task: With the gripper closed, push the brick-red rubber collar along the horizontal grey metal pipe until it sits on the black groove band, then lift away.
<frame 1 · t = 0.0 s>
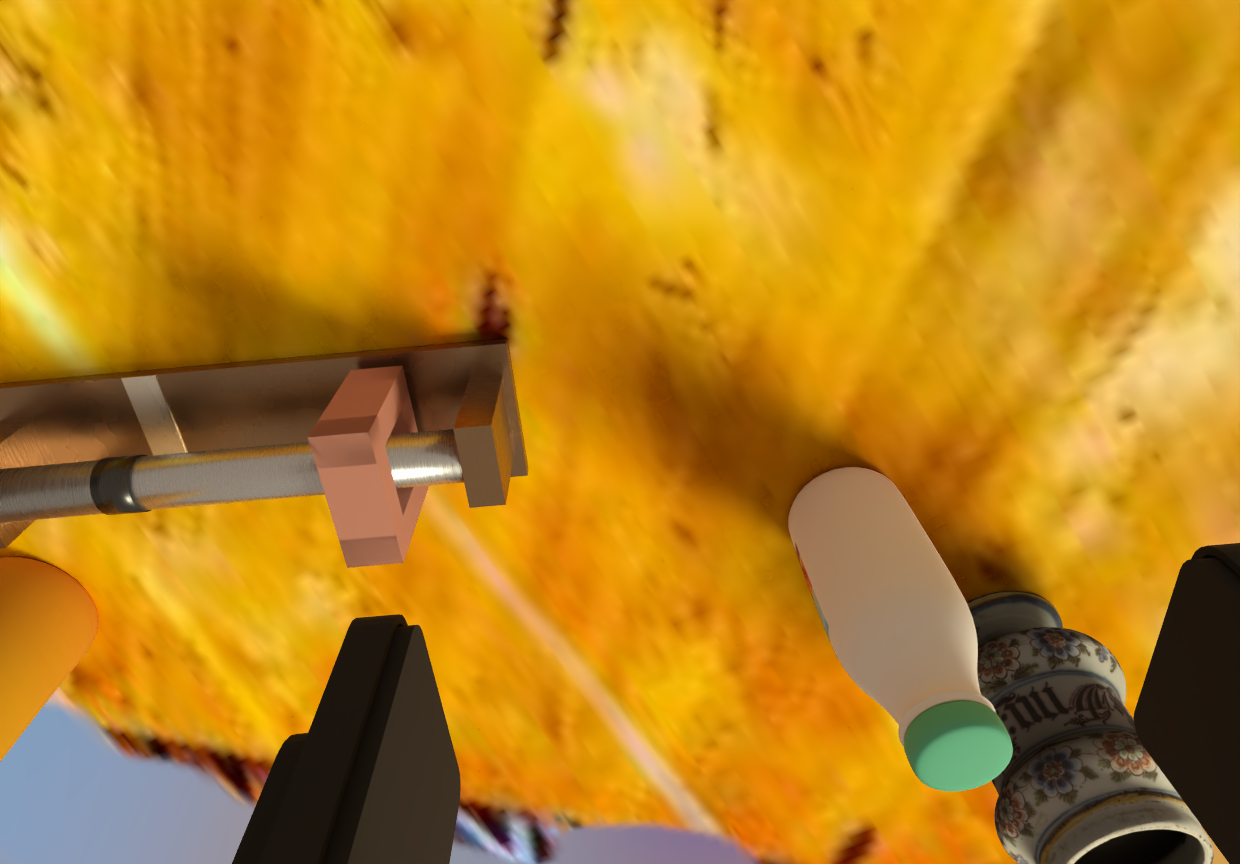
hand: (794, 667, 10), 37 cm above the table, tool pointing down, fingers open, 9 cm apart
milk bottle: (842, 510, 54), on the table
apothecary jar: (993, 639, 60), on the table
collar: (376, 462, 44), point 6 cm above the table, slide at 0.0 cm
beer bottle: (34, 603, 56), on the table
pipe rig: (268, 428, 49), on the table
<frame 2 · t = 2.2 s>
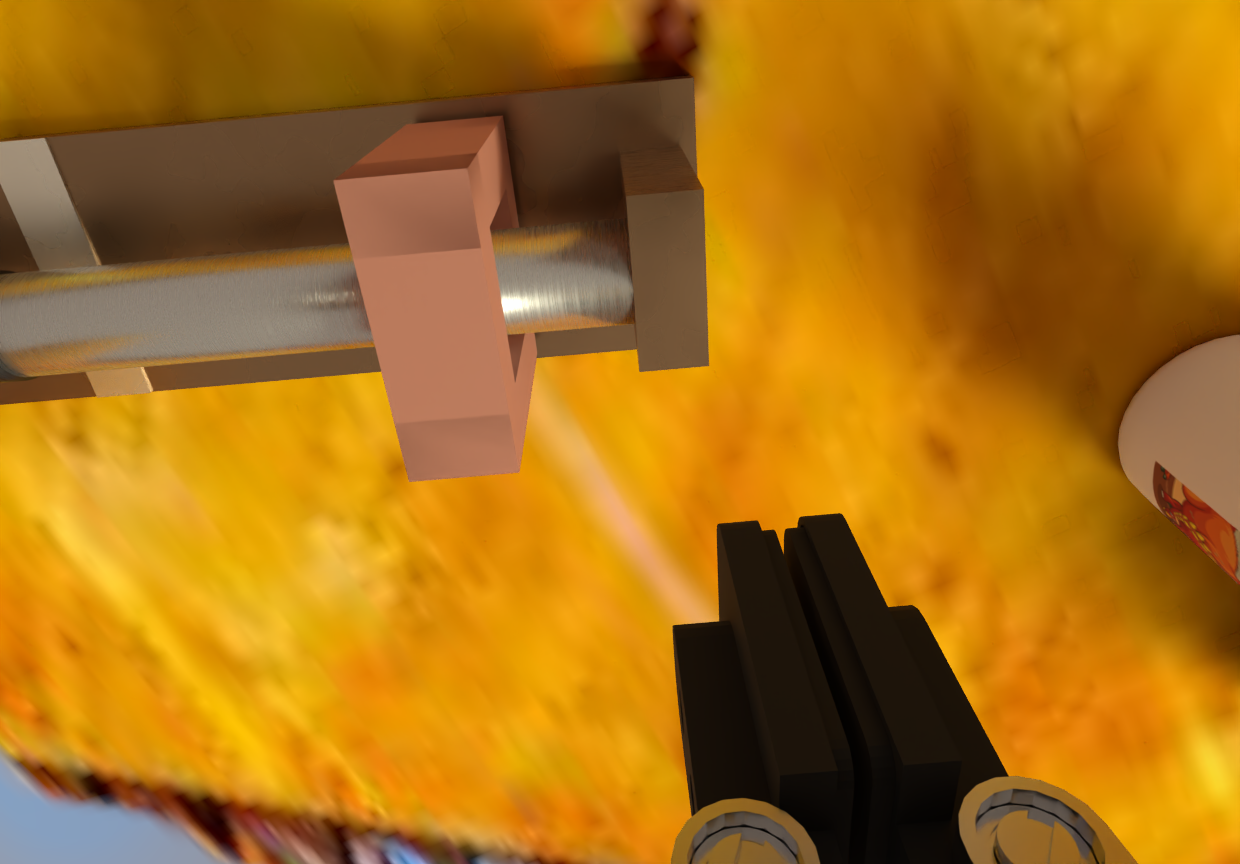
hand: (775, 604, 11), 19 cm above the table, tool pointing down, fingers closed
milk bottle: (1204, 413, 33), on the table
collar: (459, 286, 23), point 5 cm above the table, slide at 0.0 cm
pipe rig: (255, 254, 28), on the table
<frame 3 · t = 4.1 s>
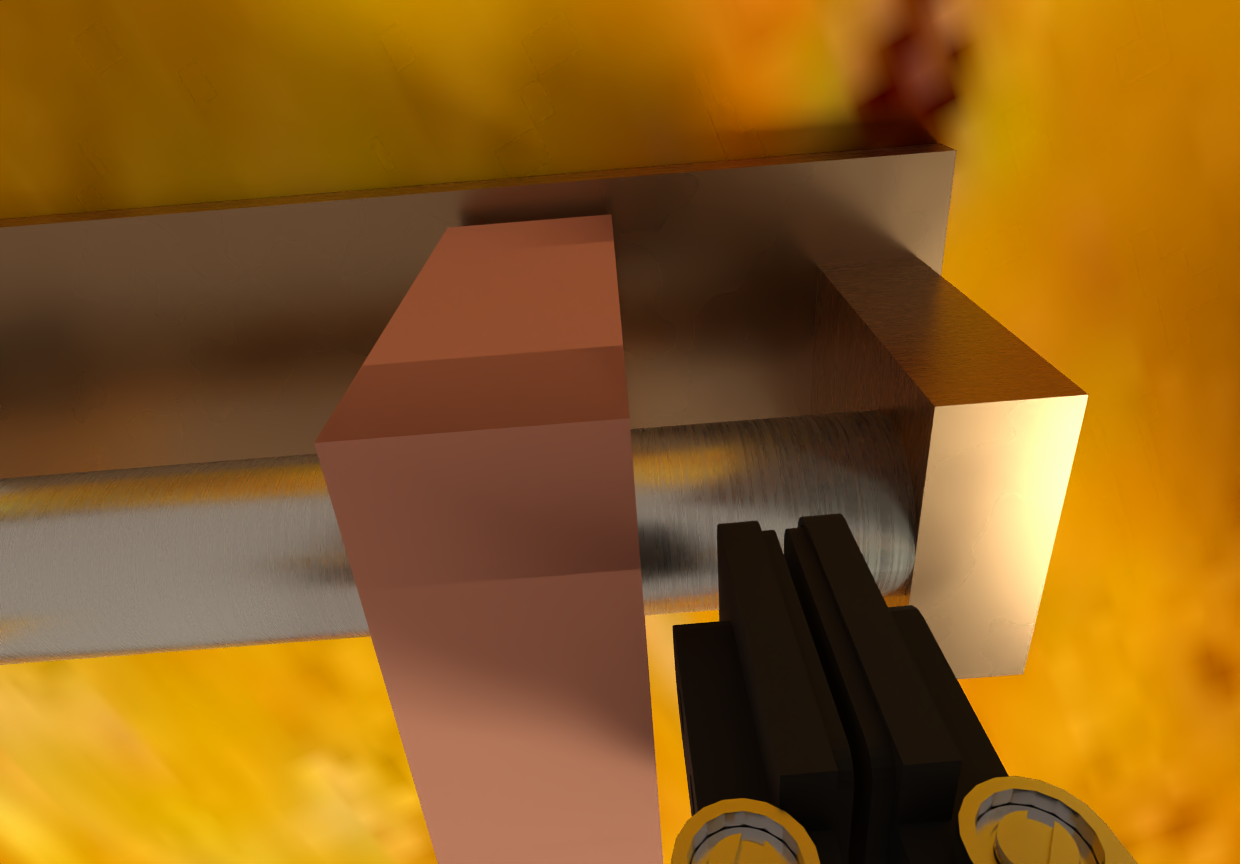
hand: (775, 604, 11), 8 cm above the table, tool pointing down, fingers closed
collar: (543, 528, 13), point 6 cm above the table, slide at 0.5 cm, touching gripper
pipe rig: (222, 410, 18), on the table
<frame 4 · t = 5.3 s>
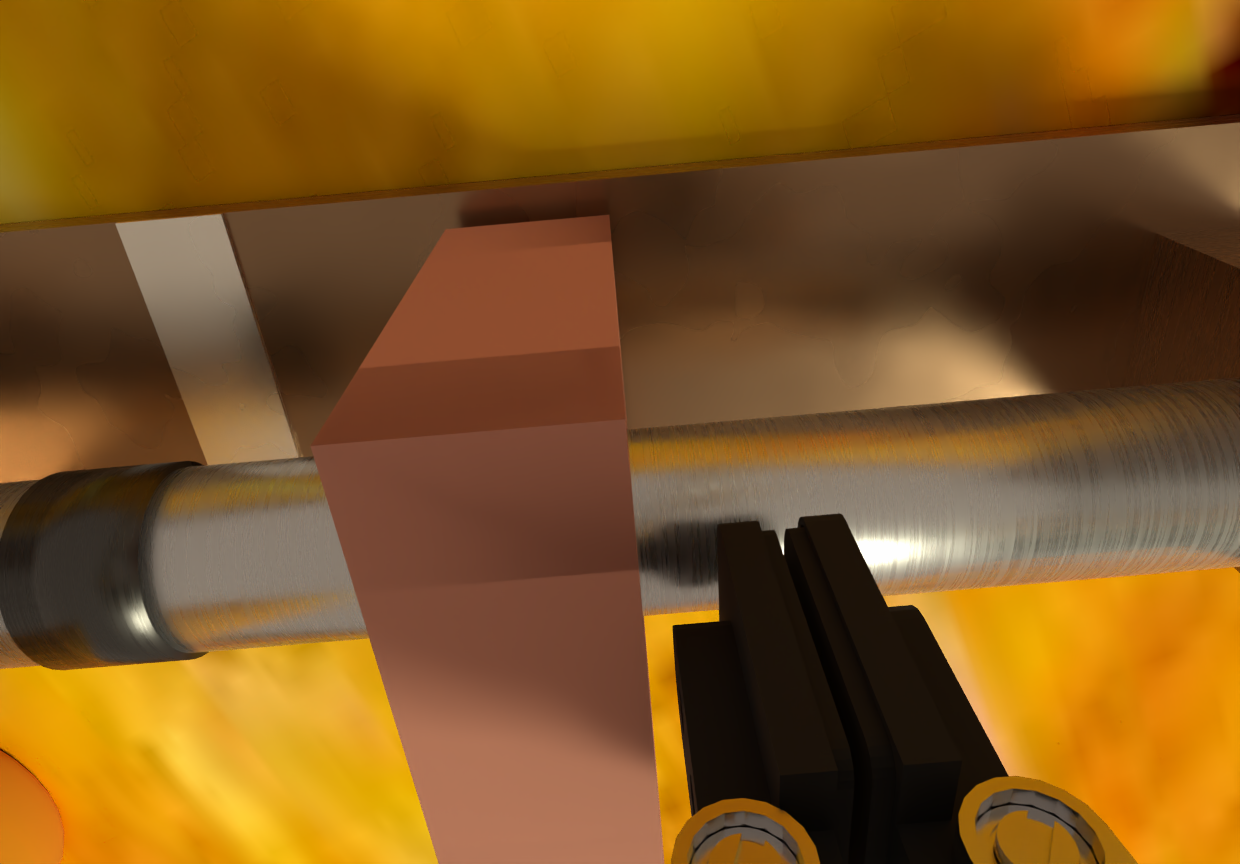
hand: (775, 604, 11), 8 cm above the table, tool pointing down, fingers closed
collar: (543, 529, 13), point 5 cm above the table, slide at 7.3 cm, touching gripper
pipe rig: (523, 387, 18), on the table
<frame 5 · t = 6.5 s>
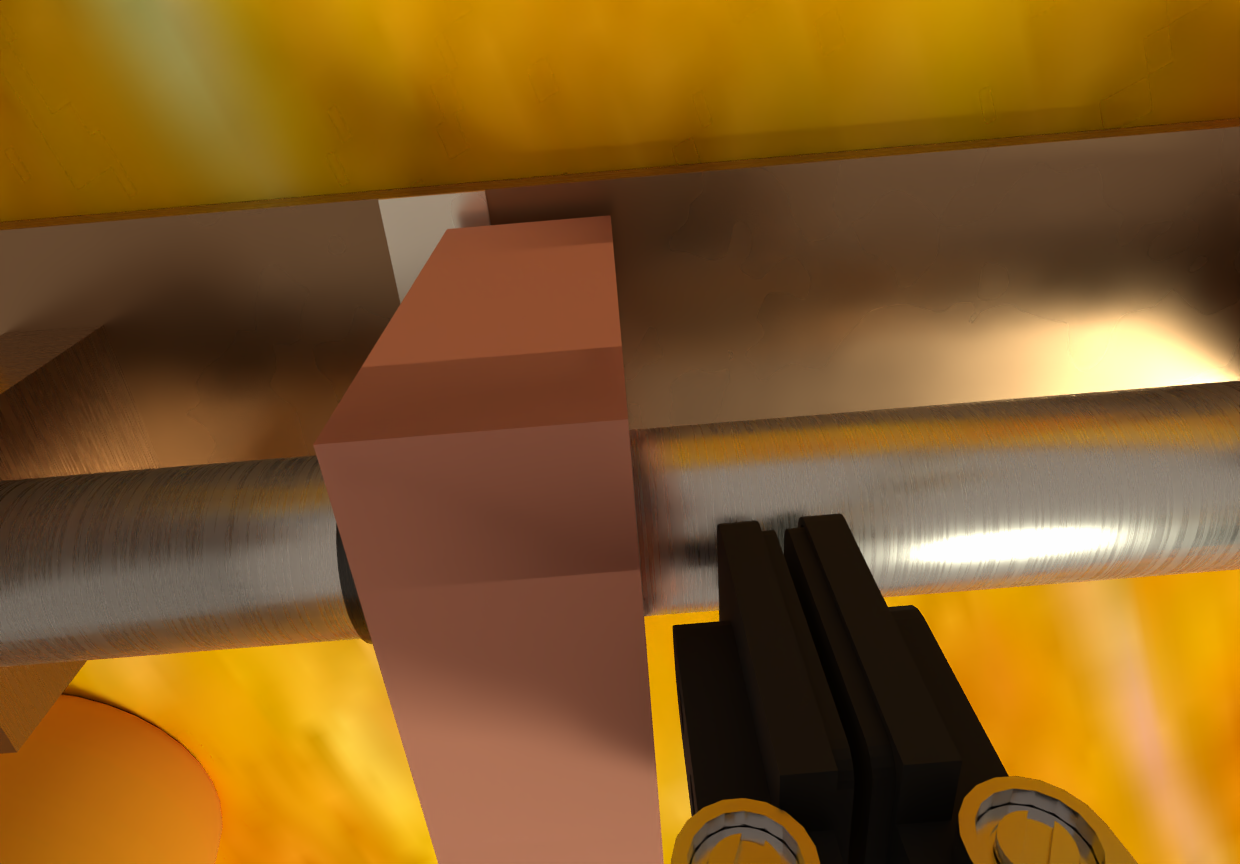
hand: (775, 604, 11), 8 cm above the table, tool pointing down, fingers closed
collar: (543, 529, 13), point 5 cm above the table, slide at 12.2 cm, touching gripper
beer bottle: (76, 786, 24), on the table
pipe rig: (744, 369, 18), on the table
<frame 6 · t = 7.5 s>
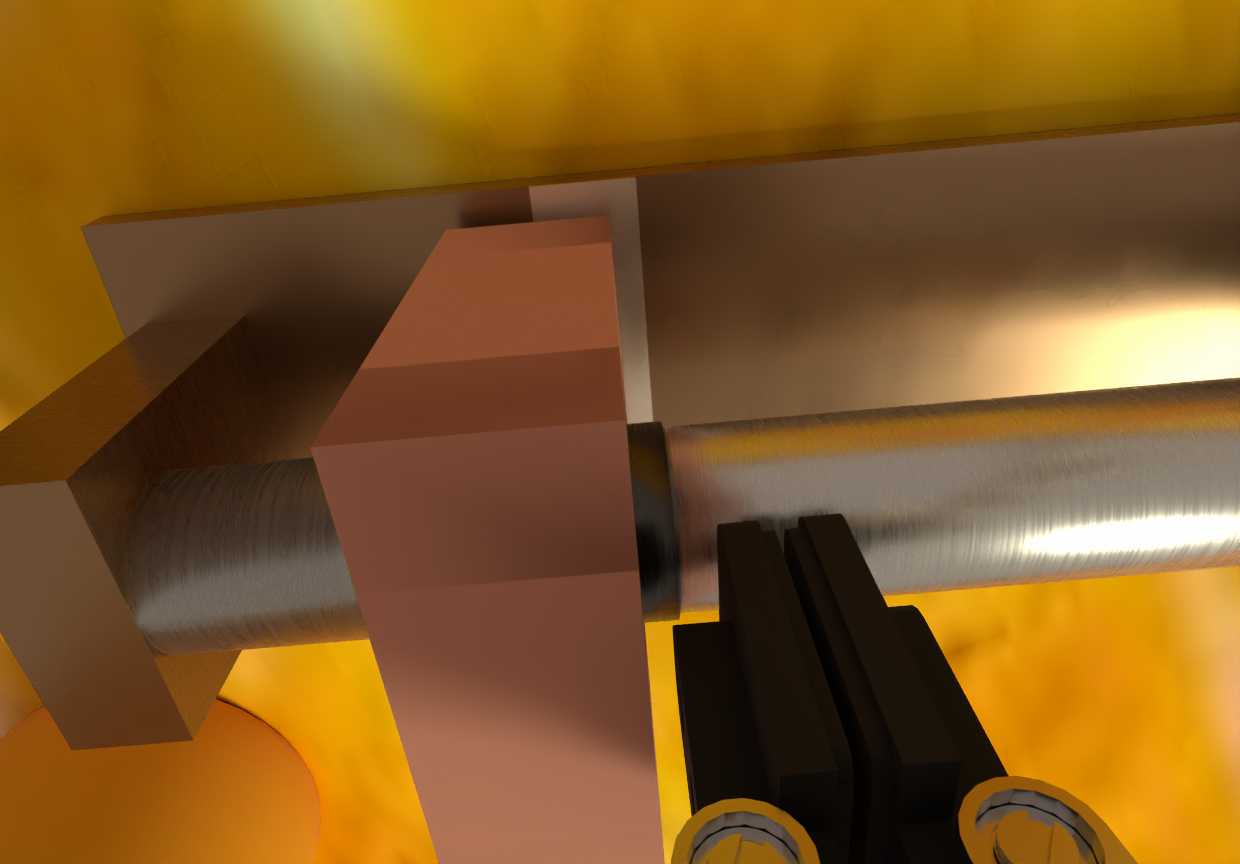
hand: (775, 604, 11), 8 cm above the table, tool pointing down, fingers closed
collar: (543, 529, 13), point 5 cm above the table, slide at 15.1 cm, touching gripper
beer bottle: (174, 780, 24), on the table
pipe rig: (872, 357, 18), on the table
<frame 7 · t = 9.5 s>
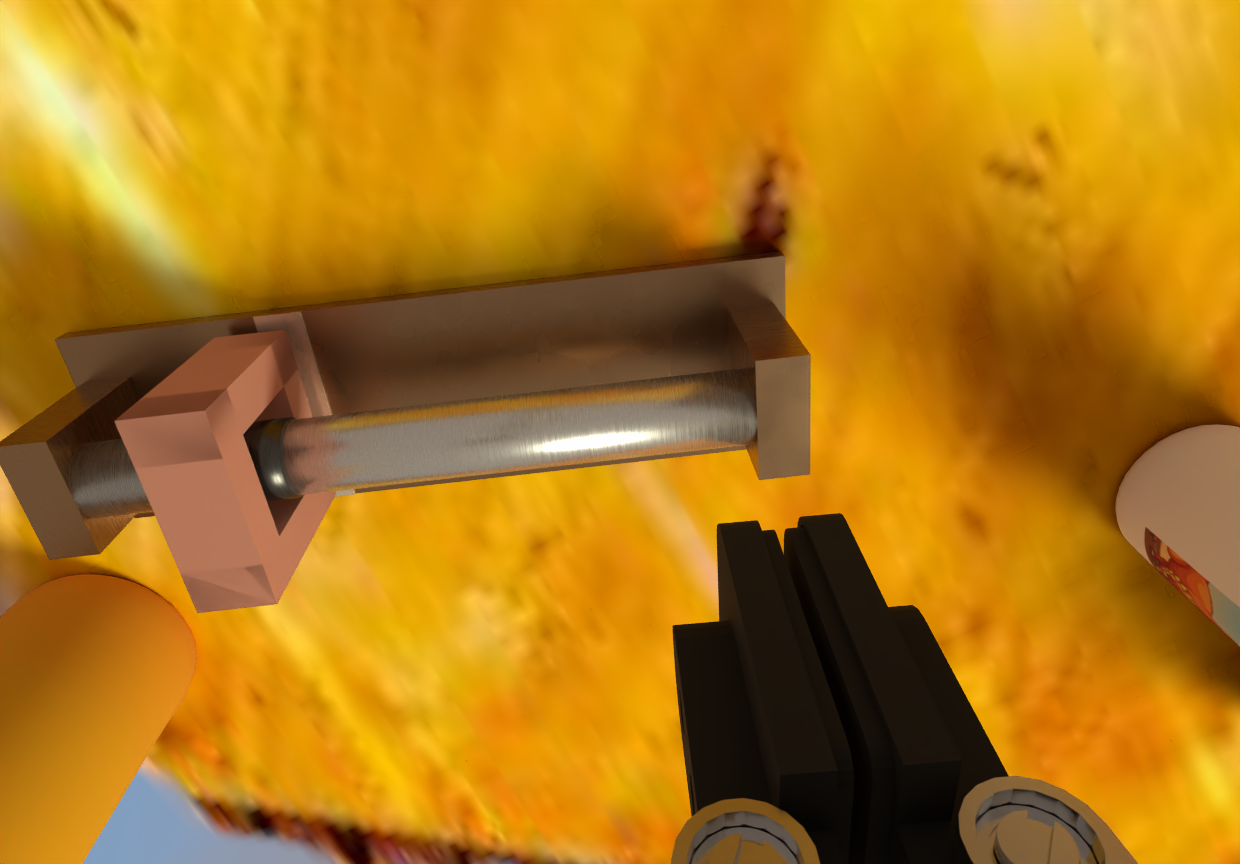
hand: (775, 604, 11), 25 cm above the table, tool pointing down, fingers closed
milk bottle: (1183, 485, 41), on the table
collar: (244, 463, 32), point 5 cm above the table, slide at 15.1 cm
beer bottle: (113, 636, 42), on the table
pipe rig: (442, 387, 36), on the table
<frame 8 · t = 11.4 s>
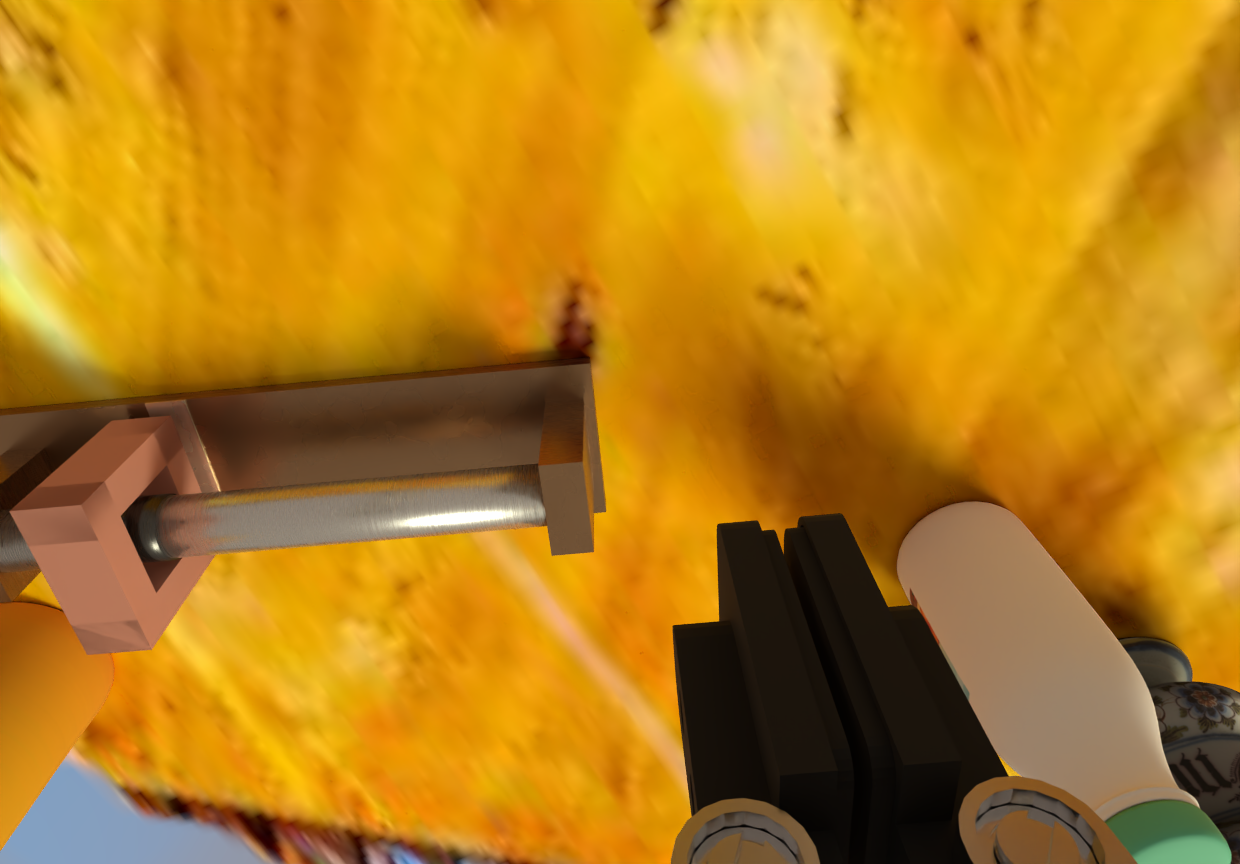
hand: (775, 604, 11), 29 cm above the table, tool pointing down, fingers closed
milk bottle: (956, 548, 48), on the table
apothecary jar: (1112, 689, 54), on the table
collar: (130, 530, 38), point 5 cm above the table, slide at 15.1 cm
beer bottle: (43, 652, 49), on the table
pipe rig: (311, 459, 43), on the table
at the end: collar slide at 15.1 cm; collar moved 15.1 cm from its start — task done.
